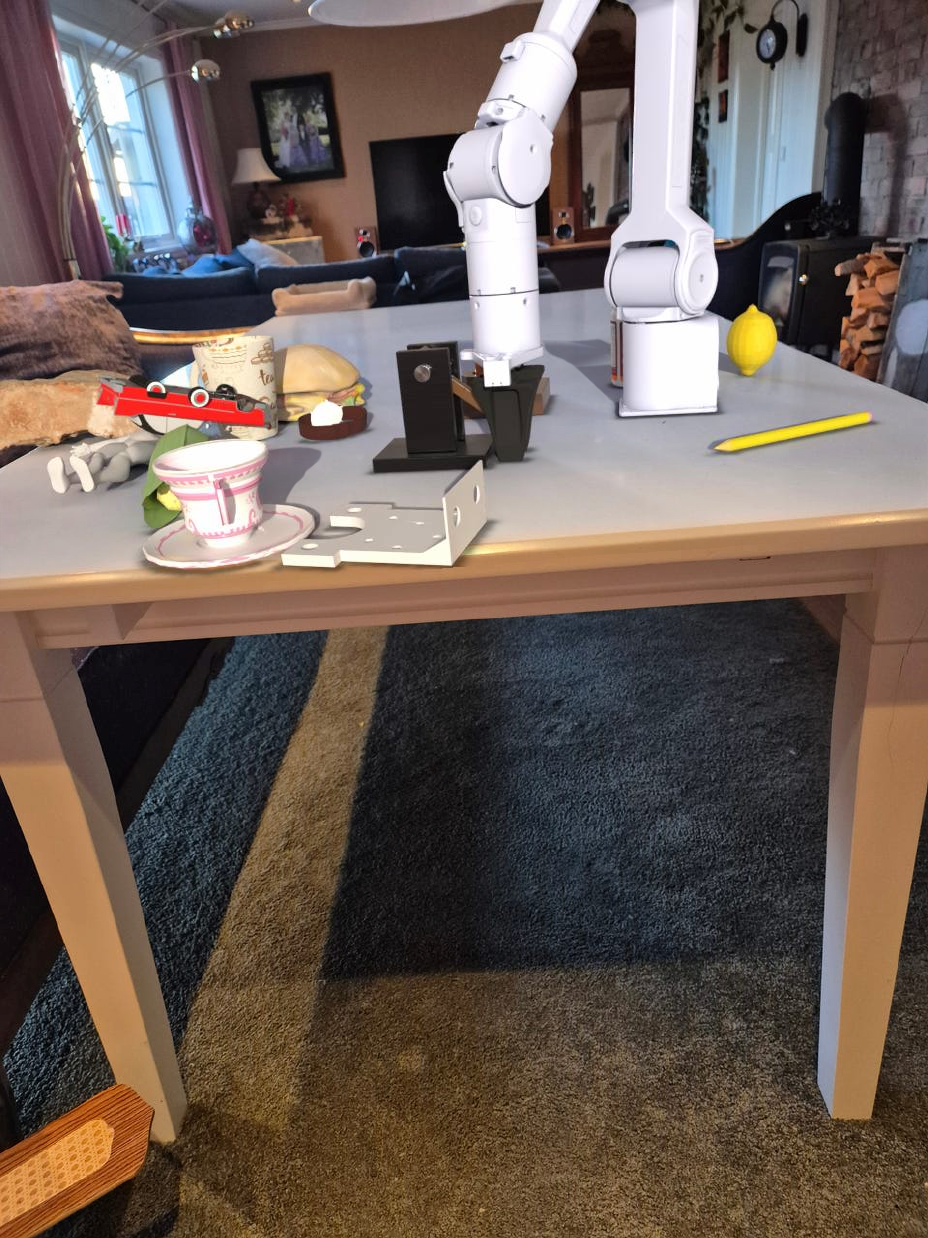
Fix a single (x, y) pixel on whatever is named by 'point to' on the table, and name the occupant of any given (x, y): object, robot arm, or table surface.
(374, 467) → the lever stand
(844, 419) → the pencil
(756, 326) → the fruit
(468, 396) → the lever
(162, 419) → the toy car
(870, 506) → the table surface
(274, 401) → the mug
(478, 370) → the press button
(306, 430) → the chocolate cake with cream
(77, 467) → the character figure
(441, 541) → the bracket
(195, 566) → the teacup
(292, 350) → the burger
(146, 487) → the edible corn
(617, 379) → the pill bottle
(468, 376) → the button block
